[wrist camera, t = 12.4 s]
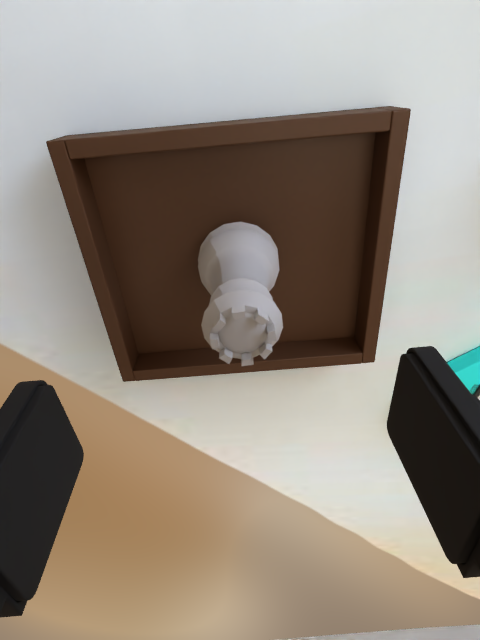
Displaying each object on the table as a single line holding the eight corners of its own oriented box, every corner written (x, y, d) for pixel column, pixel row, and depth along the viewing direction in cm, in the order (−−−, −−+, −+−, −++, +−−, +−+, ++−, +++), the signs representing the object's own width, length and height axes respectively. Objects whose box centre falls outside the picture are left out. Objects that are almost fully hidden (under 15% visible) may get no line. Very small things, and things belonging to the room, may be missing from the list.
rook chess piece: (181, 256, 21) (158, 337, 14) (241, 201, 19) (248, 262, 12) (235, 307, 23) (239, 401, 16) (294, 260, 21) (325, 342, 14)
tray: (131, 358, 25) (122, 382, 23) (65, 135, 18) (45, 141, 16) (362, 340, 25) (374, 362, 23) (390, 106, 18) (411, 108, 16)
